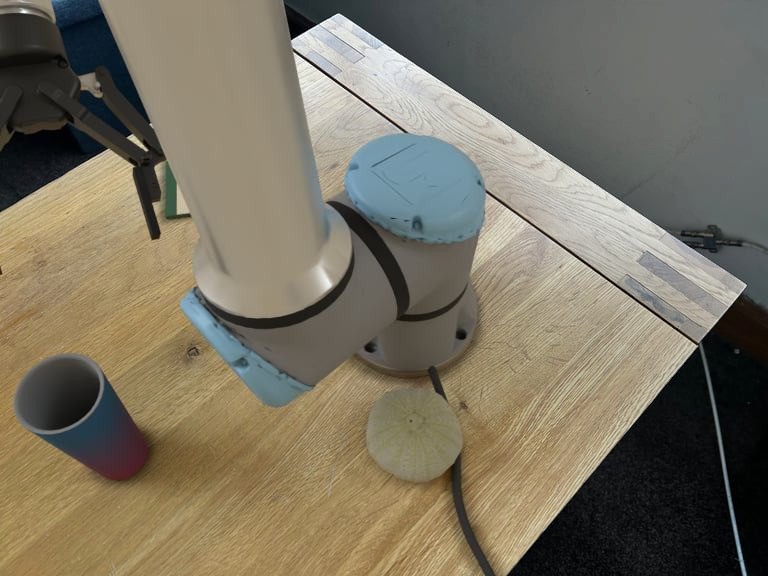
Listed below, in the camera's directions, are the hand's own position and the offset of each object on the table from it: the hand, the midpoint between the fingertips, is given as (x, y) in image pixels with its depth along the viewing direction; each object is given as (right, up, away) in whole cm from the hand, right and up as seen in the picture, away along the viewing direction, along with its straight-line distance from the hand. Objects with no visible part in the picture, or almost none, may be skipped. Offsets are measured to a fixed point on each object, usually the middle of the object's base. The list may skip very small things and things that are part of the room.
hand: (79, 254), depth 59 cm
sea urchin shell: (+30, -18, +6) cm, 36 cm away
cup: (+2, -19, +4) cm, 20 cm away
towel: (+8, +10, +23) cm, 26 cm away
